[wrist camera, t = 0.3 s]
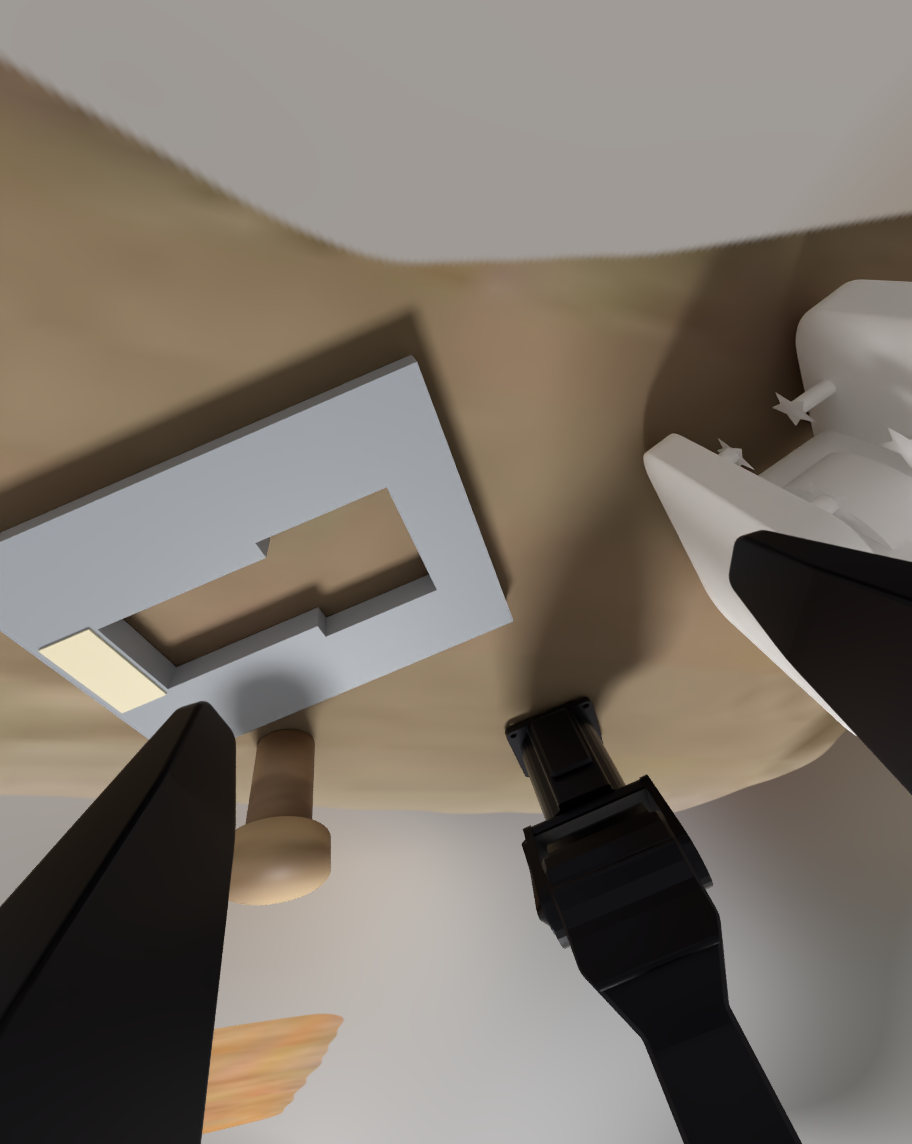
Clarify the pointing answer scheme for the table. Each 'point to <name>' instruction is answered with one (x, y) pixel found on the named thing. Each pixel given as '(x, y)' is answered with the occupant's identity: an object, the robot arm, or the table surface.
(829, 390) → the cable organizer
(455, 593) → the keyhole board
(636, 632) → the table surface
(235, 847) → the peg
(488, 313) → the table surface
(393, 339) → the table surface
